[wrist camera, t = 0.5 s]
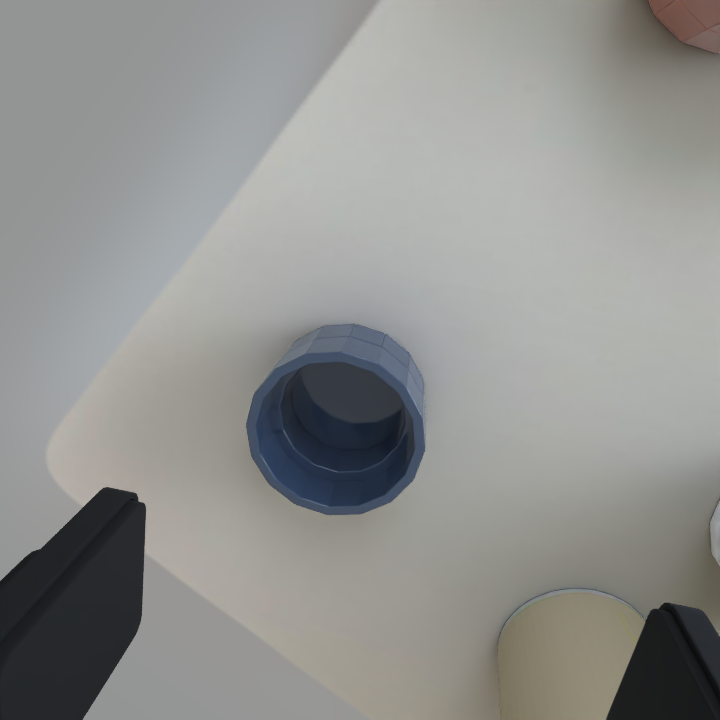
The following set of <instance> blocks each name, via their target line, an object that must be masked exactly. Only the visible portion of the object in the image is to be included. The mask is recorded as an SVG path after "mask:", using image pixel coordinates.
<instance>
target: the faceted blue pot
mask: <svg viewBox="0 0 720 720" xmlns="http://www.w3.org/2000/svg"><path fill="white" fill-rule="evenodd" d="M425 423H426V404H425V390H424V382H423V378H422V376H421V374H420V372H419V370H418V368H417V366H416V365H415V363H414V361H413V359H412V357H411V355H410V354H409V352H407V351H406V350H405V349H404V348H403V347H401V346H400V345H399V344H398V343H397V342H395V341H394V340H393V339H392V338H390V337H389V336H388V335H387V334H384V333H382V332H379V331H376V330H373V329H369V328H366V327H363V326H360V325H355V324H343V325H329V326H323V327H321V328H319V329H317V330H315V331H313V332H311V333H309V334H307V335H305V336H303V337H301V338H299V339H298V340H297V341H296V342H295V343H294V344H293V345H292V346H291V348H290V349H289V350H288V351H287V352H286V354H285V355H284V356H283V357H282V359H281V360H280V361H279V362H278V364H277V365H276V366H275V367H274V369H273V370H272V371H271V373H270V374H269V375H268V376H267V378H266V379H265V380H264V382H263V383H262V384H261V385H260V387H259V388H258V389H257V391H256V392H255V393H254V395H253V399H252V403H251V407H250V411H249V415H248V419H247V423H246V428H247V434H248V440H249V445H250V451H251V456H252V458H253V460H254V461H255V463H256V465H257V466H258V468H259V469H260V471H261V472H262V474H263V476H264V477H265V479H266V480H267V482H268V483H269V484H270V485H271V486H272V487H273V488H274V489H276V490H277V491H278V492H280V493H281V494H282V495H284V496H285V497H286V498H288V499H289V500H290V501H291V502H293V503H294V504H296V505H298V506H301V507H305V508H308V509H311V510H314V511H317V512H320V513H323V514H326V515H327V514H328V515H349V514H363V513H365V512H368V511H370V510H373V509H375V508H377V507H380V506H382V505H385V504H387V503H390V502H391V501H393V500H394V499H395V498H396V497H397V496H398V495H399V494H400V493H401V492H402V491H403V490H404V489H405V488H406V487H407V486H408V485H409V484H410V483H411V482H412V481H413V479H414V478H415V475H416V473H417V470H418V468H419V465H420V462H421V460H422V457H423V454H424V452H425V429H426V427H425Z"/></svg>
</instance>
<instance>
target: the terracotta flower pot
mask: <svg viewBox="0 0 720 720" xmlns="http://www.w3.org/2000/svg"><path fill="white" fill-rule="evenodd" d="M649 3H650V6H651V9H652V12H653V14H655V17H656V18H657V19H658V20H659V21H660V22H661V23H662V24H663V25H664V26H665V27H666V28H667V29H668V30H670V31H671V32H672V33H673V34H674V35H675V36H676V37H677V38H678V39H679V40H680V41H681V42H683V43H686V44H689V45H692V46H695V47H698V48H701V49H705V50H708V51H711V52H714V53H717V54H718V53H720V0H649Z"/></svg>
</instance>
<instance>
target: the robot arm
mask: <svg viewBox="0 0 720 720" xmlns="http://www.w3.org/2000/svg"><path fill="white" fill-rule="evenodd" d="M145 520H146V506H145V504H144V503H142V502H138V496H137V494H136V493H133V492H128V491H123V490H119V489H114V488H109V487H106V488H103V489H102V490H100V491H99V492H98V493H97V494H96V495H95V496H94V497H93V498H92V499H91V500H90V501H89V502H88V503H87V504H86V505H85V506H84V507H83V508H82V509H81V510H80V511H79V512H78V513H77V514H76V515H75V516H74V517H73V518H72V519H71V520H70V521H69V522H68V523H67V524H66V525H65V526H64V527H63V528H62V529H61V530H60V531H59V532H58V533H57V534H56V535H55V536H54V537H53V538H52V539H51V540H49V541H48V542H47V543H46V544H45V546H43V547H42V548H41V549H39V550H36V551H33V552H31V553H30V554H29V555H27V556H26V557H25V558H24V559H23V560H22V561H21V562H20V563H19V564H18V565H17V566H16V567H14V569H12V570H11V571H10V572H9V573H8V574H7V575H6V576H5V577H4V578H3V579H2V580H1V581H0V720H83V718H84V716H85V715H86V713H87V712H88V710H89V709H90V707H91V705H92V704H93V702H94V701H95V699H96V697H97V696H98V694H99V693H100V691H101V689H102V688H103V686H104V685H105V683H106V681H107V680H108V678H109V677H110V675H111V673H112V672H113V670H114V669H115V667H116V666H117V664H118V662H119V661H120V659H121V658H122V656H123V654H124V653H125V651H126V650H127V648H128V646H129V645H130V643H131V642H132V640H133V638H134V637H135V635H136V633H137V630H138V628H139V625H140V622H141V616H142V596H143V571H144V546H145ZM606 720H720V637H719V635H718V634H717V632H716V630H715V629H714V627H713V625H712V624H711V622H710V621H709V619H708V617H707V616H706V615H705V613H704V612H703V611H701V610H700V609H696V608H691V607H687V606H682V605H677V604H672V603H664V604H663V605H661V607H660V608H659V609H653V610H651V611H650V613H649V615H648V617H647V620H646V622H645V624H644V627H643V629H642V632H641V634H640V637H639V639H638V642H637V644H636V646H635V649H634V651H633V654H632V656H631V659H630V661H629V664H628V666H627V668H626V671H625V673H624V676H623V678H622V681H621V683H620V686H619V688H618V690H617V693H616V695H615V698H614V700H613V703H612V705H611V707H610V710H609V712H608V715H607V718H606Z"/></svg>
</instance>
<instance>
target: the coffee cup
mask: <svg viewBox="0 0 720 720" xmlns="http://www.w3.org/2000/svg"><path fill="white" fill-rule="evenodd" d="M645 622H646V621H645V620H644V618H643V617H642V616H641V615H640V614H639V613H638V612H637V611H636V610H635V609H634V608H632V607H631V606H630V605H629V604H627V603H626V602H624V601H622V600H621V599H618V598H616V597H614V596H612V595H610V594H606V593H603V592H599V591H595V590H588V589H565V590H558V591H553V592H549V593H546V594H543V595H541V596H538V597H536V598H534V599H532V600H530V601H528V602H527V603H525V604H524V605H522V606H521V607H520V608H519V609H518V610H516V611H515V612H514V613H513V614H512V615H511V617H510V618H509V619H508V621H507V622H506V623H505V625H504V627H503V629H502V631H501V635H500V638H499V642H498V683H499V702H500V720H606V718H607V715H608V712H609V710H610V707H611V705H612V703H613V700H614V698H615V695H616V693H617V690H618V688H619V686H620V683H621V681H622V678H623V676H624V673H625V671H626V668H627V666H628V664H629V661H630V659H631V656H632V654H633V651H634V649H635V646H636V644H637V642H638V639H639V637H640V634H641V632H642V629H643V627H644V624H645Z"/></svg>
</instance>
